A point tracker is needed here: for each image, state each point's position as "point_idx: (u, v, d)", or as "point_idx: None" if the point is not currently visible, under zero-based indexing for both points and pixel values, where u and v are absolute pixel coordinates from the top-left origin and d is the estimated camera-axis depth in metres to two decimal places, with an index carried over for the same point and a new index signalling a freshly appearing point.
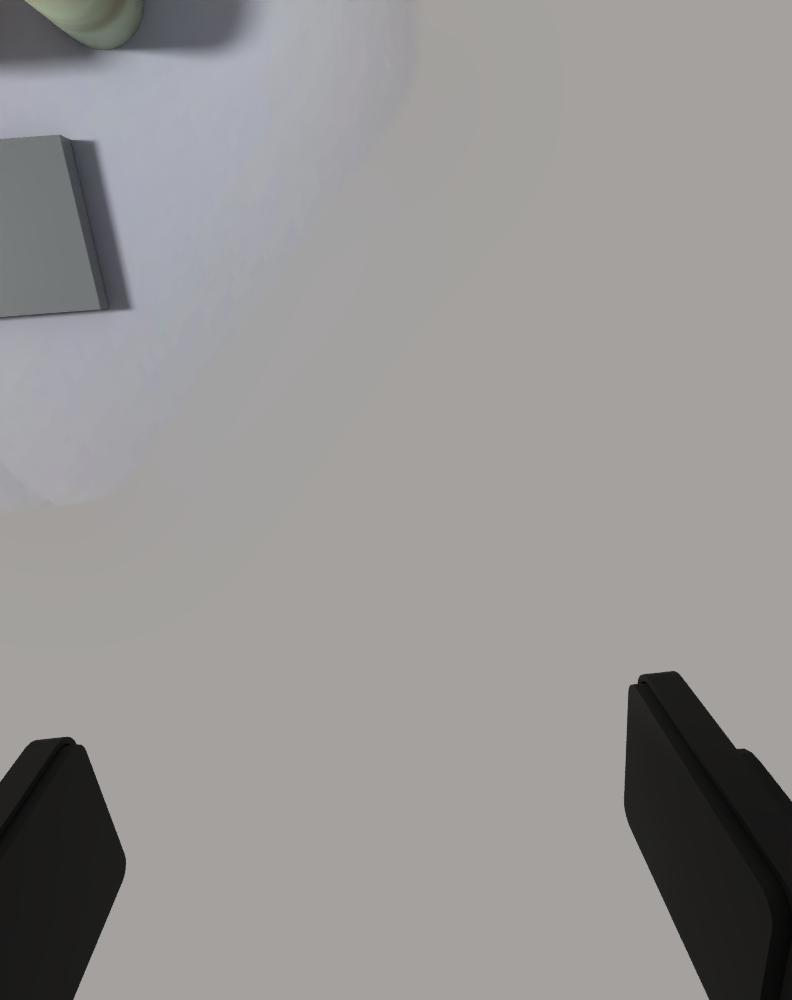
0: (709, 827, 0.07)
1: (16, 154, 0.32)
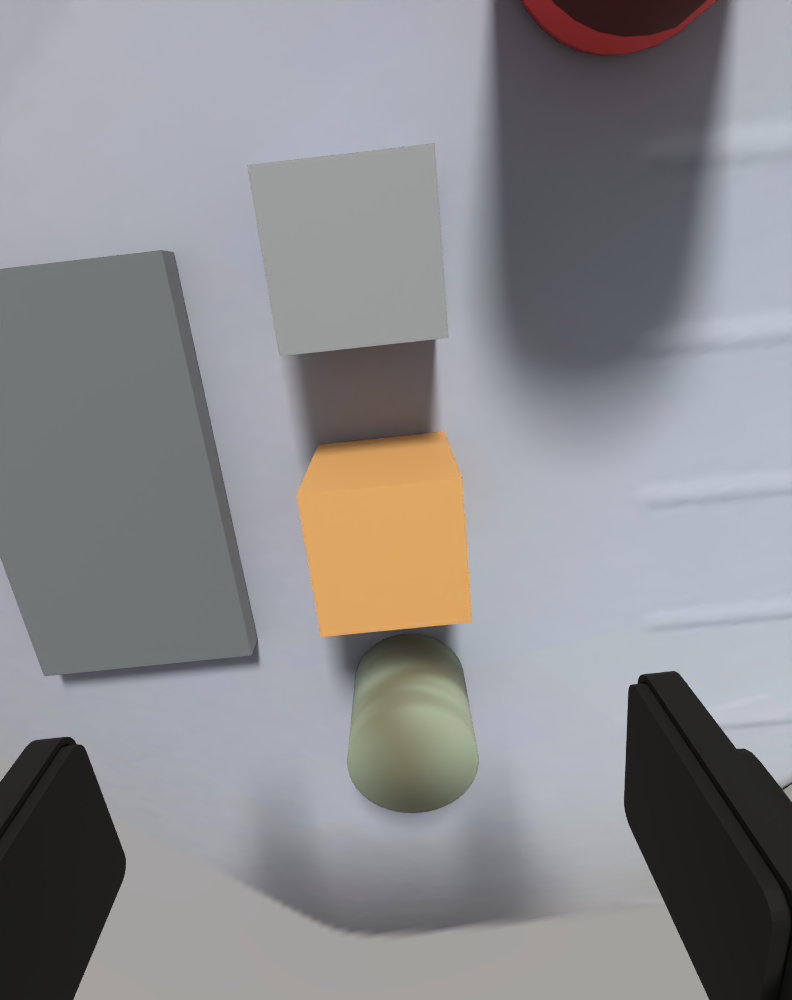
0: (709, 827, 0.07)
1: (221, 604, 0.24)
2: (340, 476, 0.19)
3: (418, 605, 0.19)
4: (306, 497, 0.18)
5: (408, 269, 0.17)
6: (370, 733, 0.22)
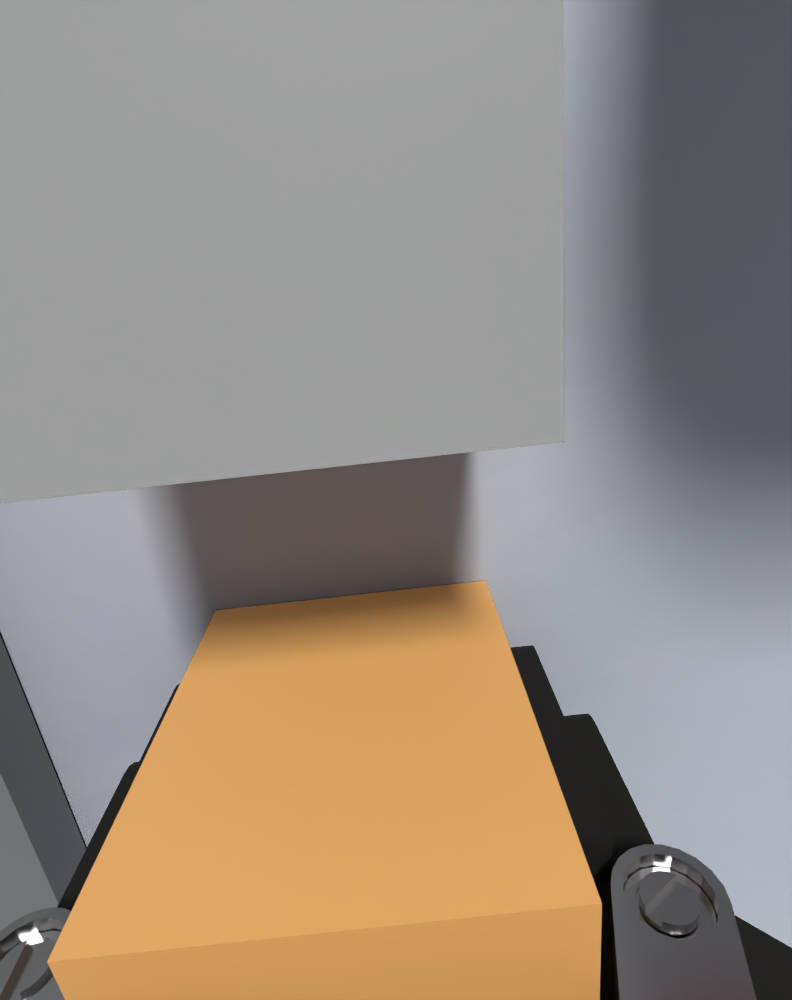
0: None
1: None
2: (221, 815, 0.07)
3: None
4: (84, 963, 0.05)
5: (424, 187, 0.04)
6: None
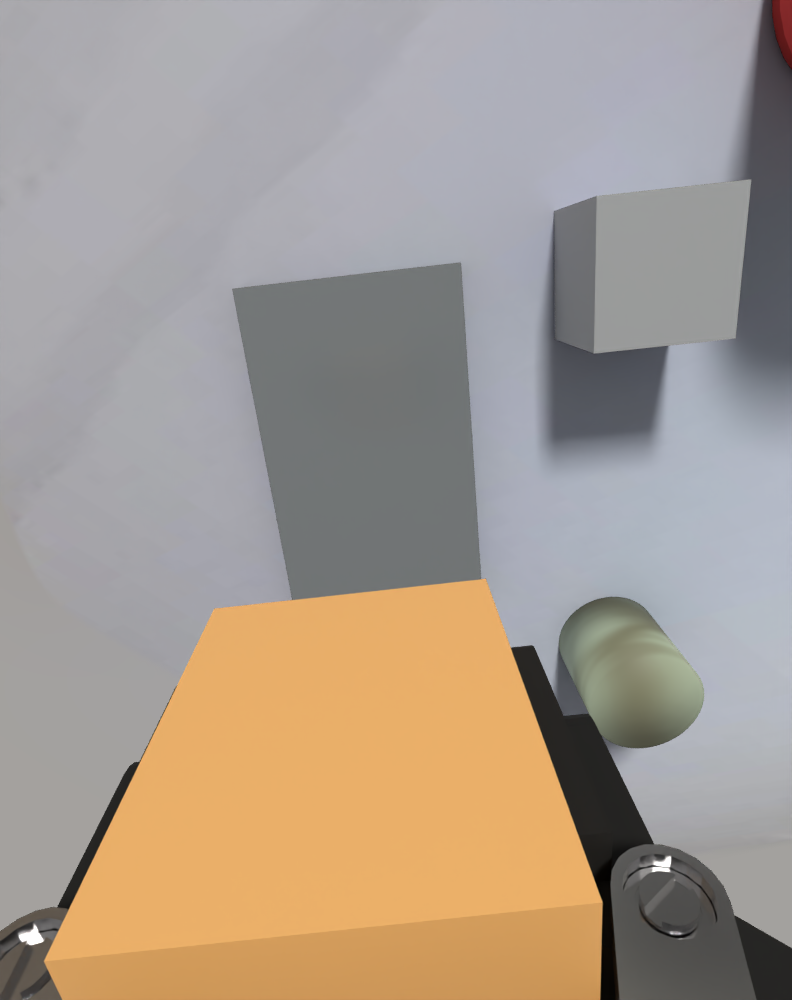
0: None
1: (464, 570, 0.28)
2: (219, 813, 0.07)
3: None
4: (82, 962, 0.05)
5: (712, 281, 0.20)
6: (614, 680, 0.26)
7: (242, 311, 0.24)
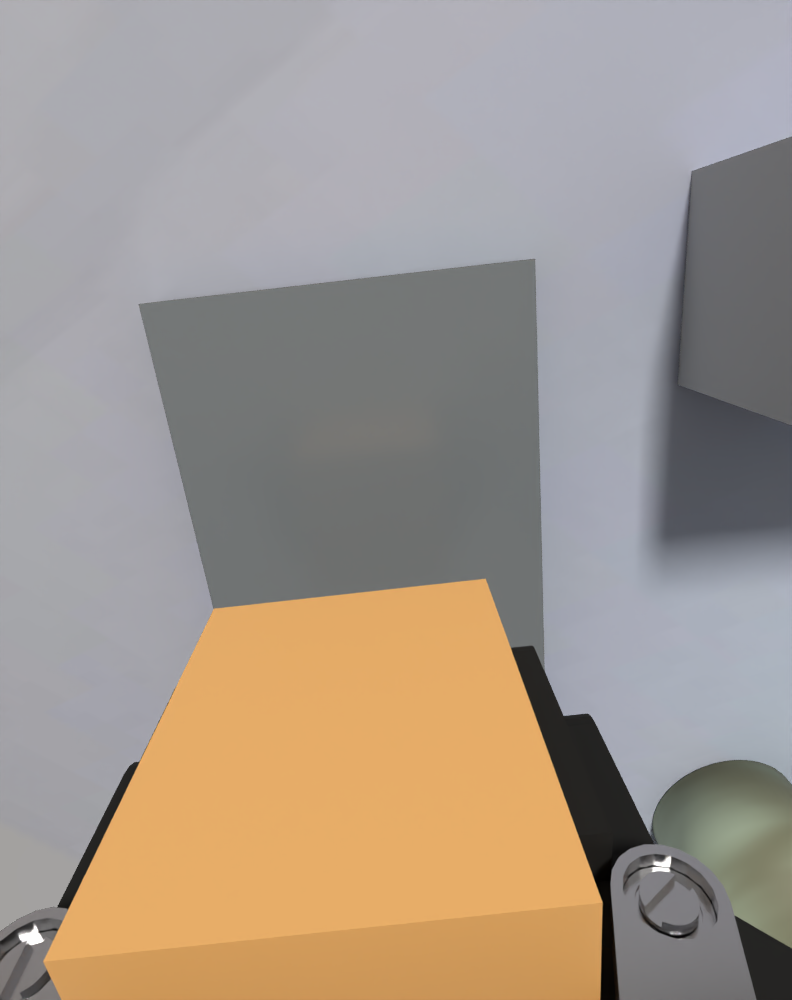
0: None
1: None
2: (219, 814, 0.07)
3: None
4: (81, 963, 0.05)
5: None
6: None
7: (158, 342, 0.14)
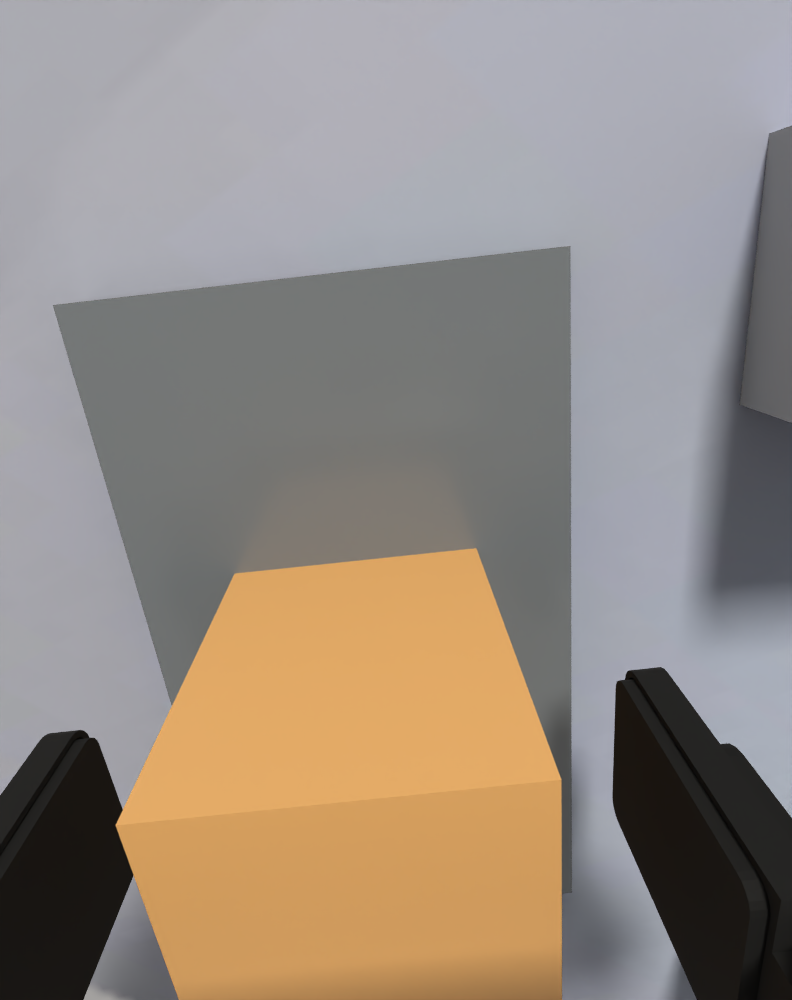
0: (691, 820, 0.07)
1: None
2: (250, 725, 0.08)
3: None
4: (145, 828, 0.07)
5: None
6: None
7: (80, 355, 0.11)
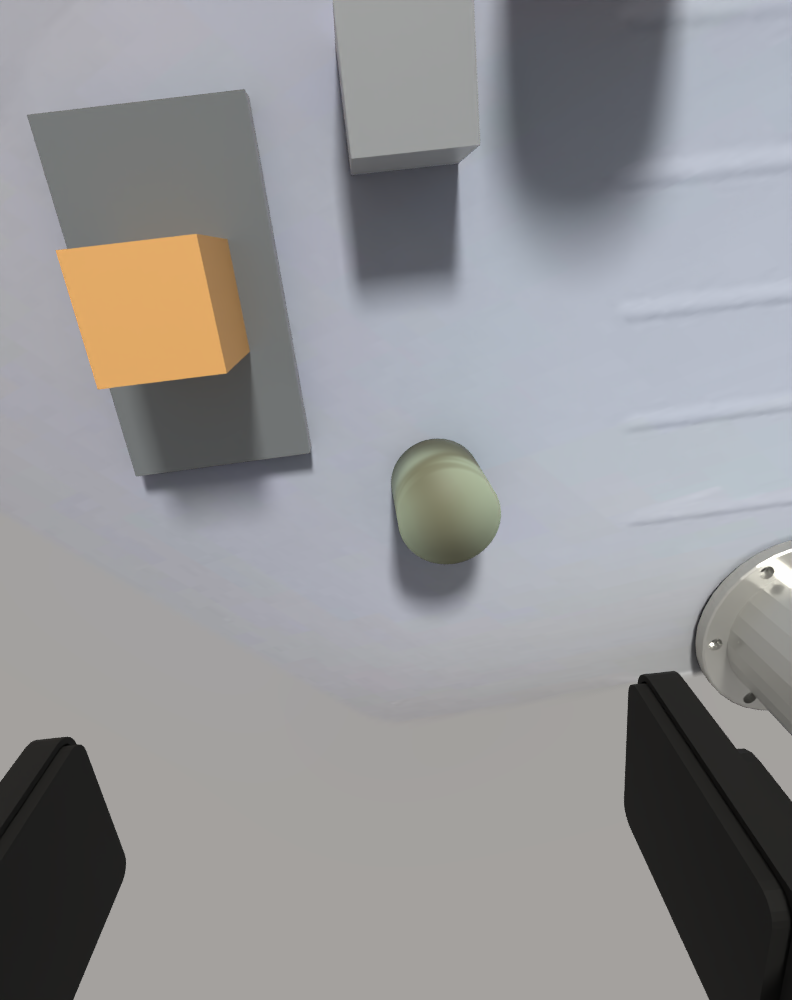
0: (709, 827, 0.07)
1: (286, 407, 0.30)
2: None
3: (178, 357, 0.23)
4: (65, 253, 0.21)
5: (451, 86, 0.22)
6: (413, 496, 0.28)
7: (39, 138, 0.25)
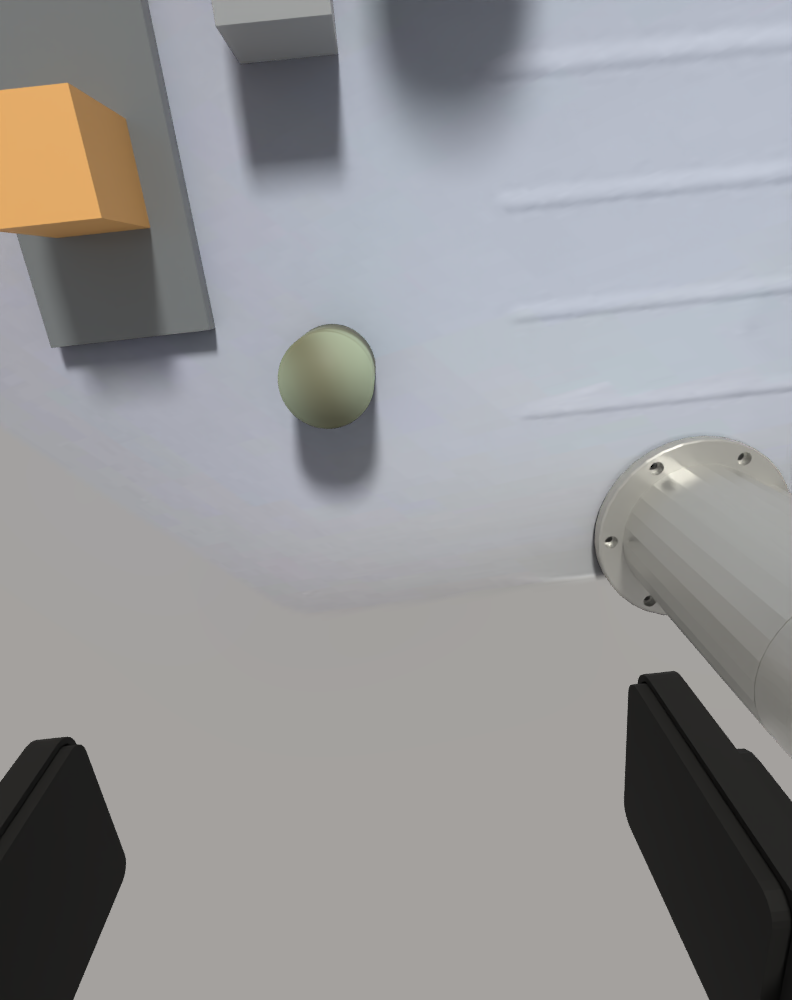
0: (709, 827, 0.07)
1: (185, 283, 0.33)
2: None
3: (57, 201, 0.26)
4: None
5: None
6: (290, 358, 0.31)
7: None
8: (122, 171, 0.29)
